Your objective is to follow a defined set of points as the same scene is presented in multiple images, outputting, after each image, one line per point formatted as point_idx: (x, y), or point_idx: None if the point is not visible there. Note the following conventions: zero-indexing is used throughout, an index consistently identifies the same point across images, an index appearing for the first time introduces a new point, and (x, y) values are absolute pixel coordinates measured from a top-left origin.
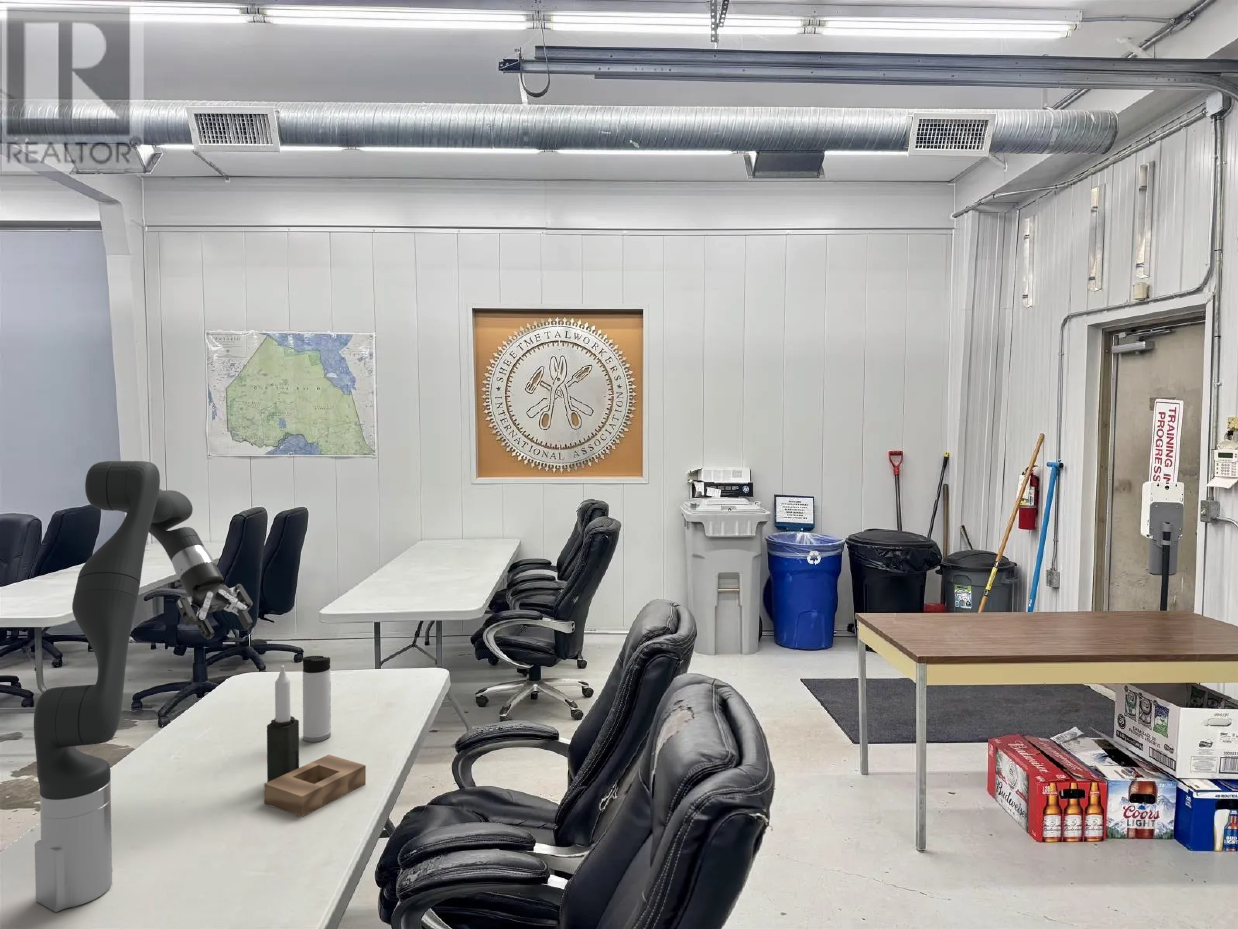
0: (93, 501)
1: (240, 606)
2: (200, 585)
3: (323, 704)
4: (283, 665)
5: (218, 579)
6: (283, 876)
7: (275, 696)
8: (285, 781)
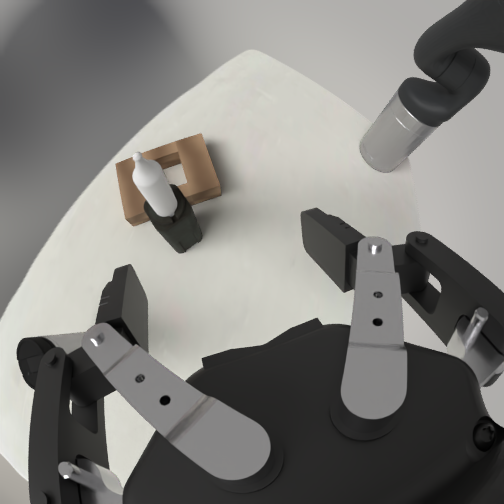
0: None
1: (112, 341)
2: (488, 454)
3: (72, 333)
4: (134, 154)
5: None
6: (253, 83)
7: (167, 186)
8: (198, 175)
